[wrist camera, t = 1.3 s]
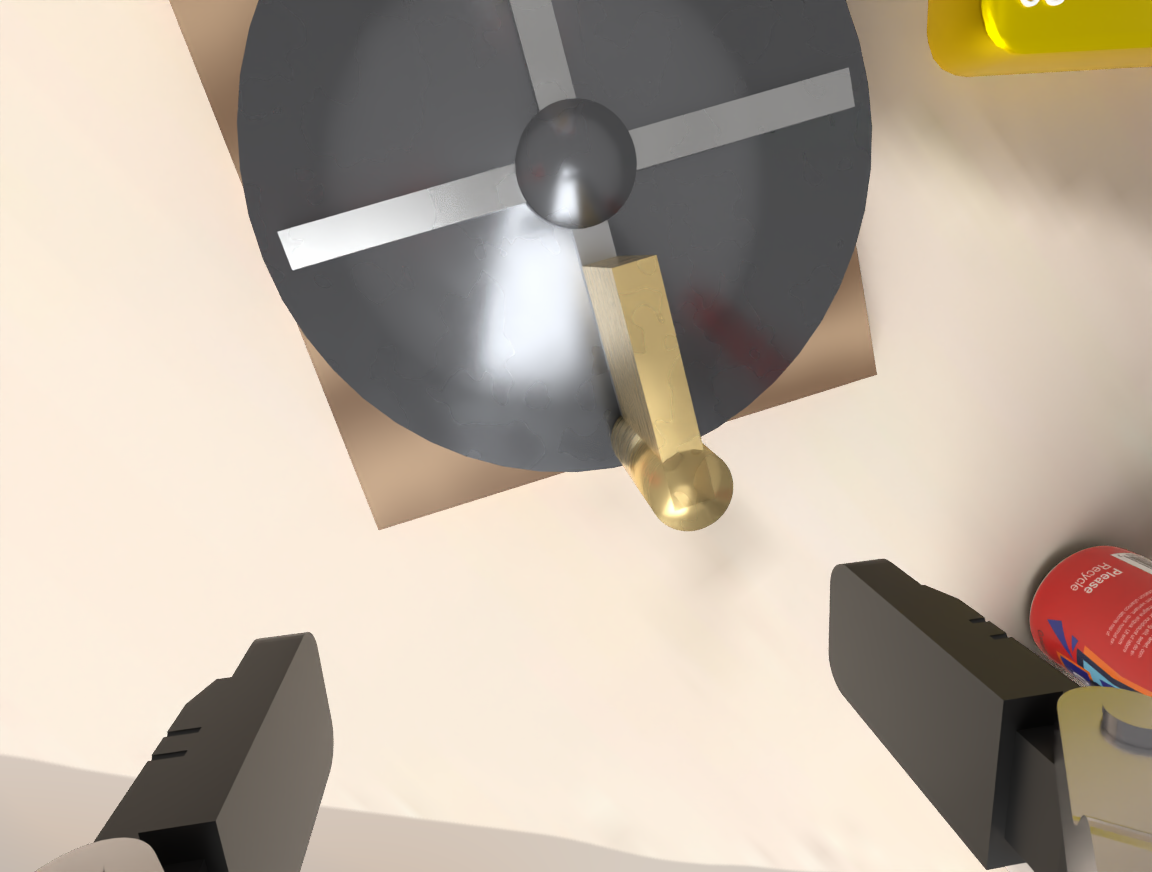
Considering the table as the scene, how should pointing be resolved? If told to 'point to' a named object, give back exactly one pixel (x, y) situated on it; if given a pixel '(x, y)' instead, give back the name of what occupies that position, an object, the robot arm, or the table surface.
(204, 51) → the winch base
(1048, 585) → the soda can
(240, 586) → the table surface
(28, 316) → the table surface
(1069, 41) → the element tile
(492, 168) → the handwheel
